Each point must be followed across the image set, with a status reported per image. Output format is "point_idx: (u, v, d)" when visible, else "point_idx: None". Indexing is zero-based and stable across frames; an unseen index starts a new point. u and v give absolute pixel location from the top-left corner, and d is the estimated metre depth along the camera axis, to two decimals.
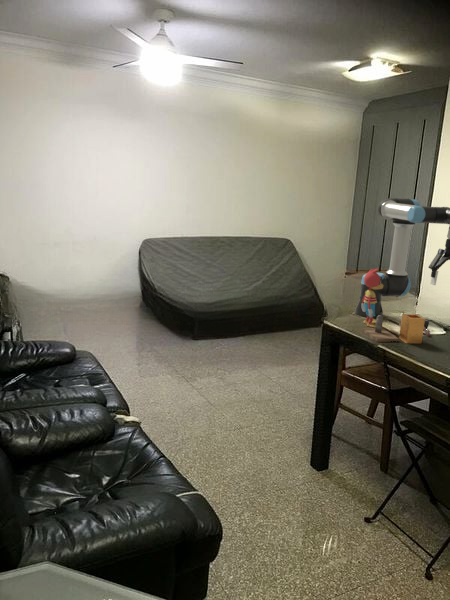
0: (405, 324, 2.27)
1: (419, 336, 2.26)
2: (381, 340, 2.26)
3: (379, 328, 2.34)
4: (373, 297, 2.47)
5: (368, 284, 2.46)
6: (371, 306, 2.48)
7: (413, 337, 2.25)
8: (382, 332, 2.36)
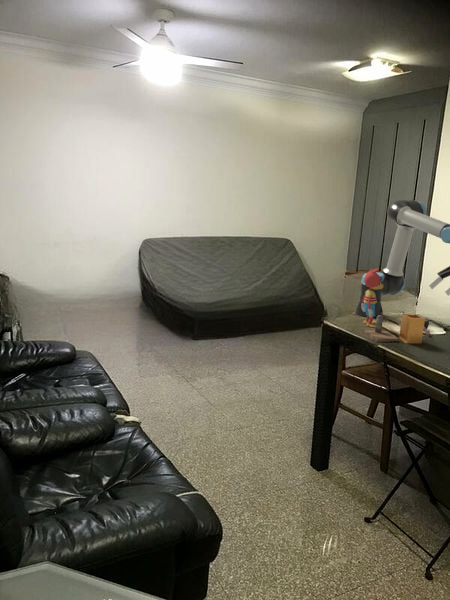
0: (405, 324, 2.27)
1: (419, 336, 2.26)
2: (381, 340, 2.26)
3: (379, 328, 2.34)
4: (373, 297, 2.47)
5: (368, 284, 2.46)
6: (371, 306, 2.48)
7: (413, 337, 2.25)
8: (382, 332, 2.36)
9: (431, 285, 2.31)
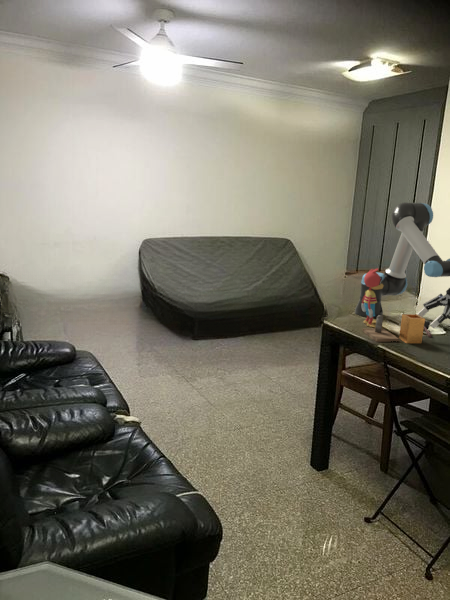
0: (405, 324, 2.27)
1: (419, 336, 2.26)
2: (381, 340, 2.26)
3: (379, 328, 2.34)
4: (373, 297, 2.47)
5: (368, 284, 2.46)
6: (371, 306, 2.48)
7: (413, 337, 2.25)
8: (382, 332, 2.36)
9: None
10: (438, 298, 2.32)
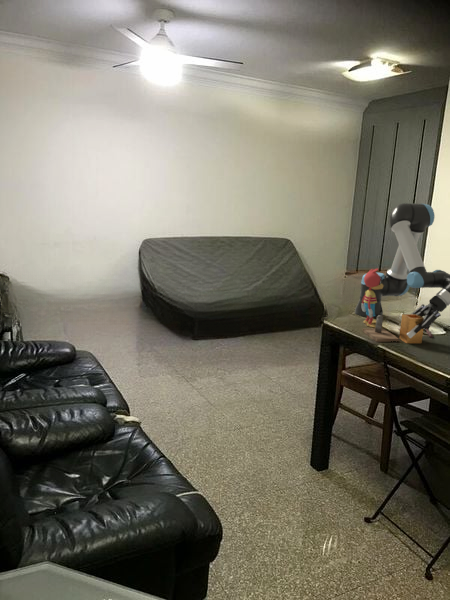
0: (405, 324, 2.27)
1: (419, 336, 2.26)
2: (381, 340, 2.26)
3: (379, 328, 2.34)
4: (373, 297, 2.47)
5: (368, 284, 2.46)
6: (371, 306, 2.48)
7: (413, 337, 2.25)
8: (382, 332, 2.36)
9: None
10: (421, 309, 2.32)
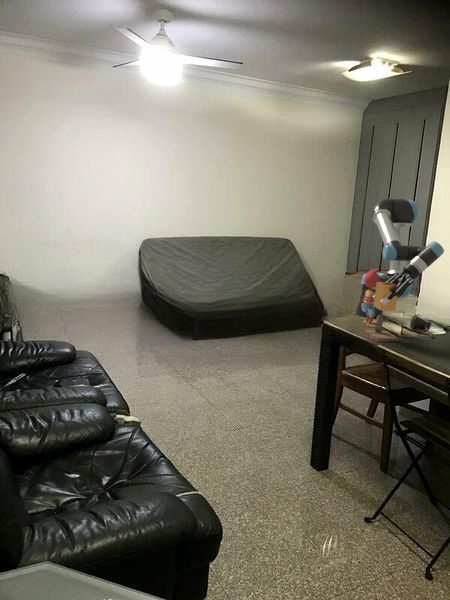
0: (379, 291, 2.30)
1: (393, 303, 2.29)
2: (381, 340, 2.26)
3: (379, 328, 2.34)
4: None
5: (368, 284, 2.46)
6: (371, 306, 2.48)
7: (387, 304, 2.28)
8: (382, 332, 2.36)
9: None
10: (395, 277, 2.35)
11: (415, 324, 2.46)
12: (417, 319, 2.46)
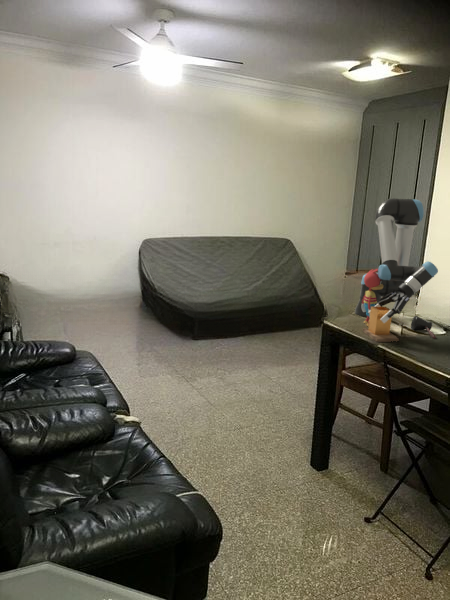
0: (373, 316, 2.33)
1: (387, 328, 2.32)
2: (381, 340, 2.26)
3: None
4: (373, 297, 2.47)
5: (368, 284, 2.46)
6: None
7: (381, 329, 2.31)
8: None
9: None
10: (391, 295, 2.39)
11: (416, 324, 2.45)
12: (418, 319, 2.45)
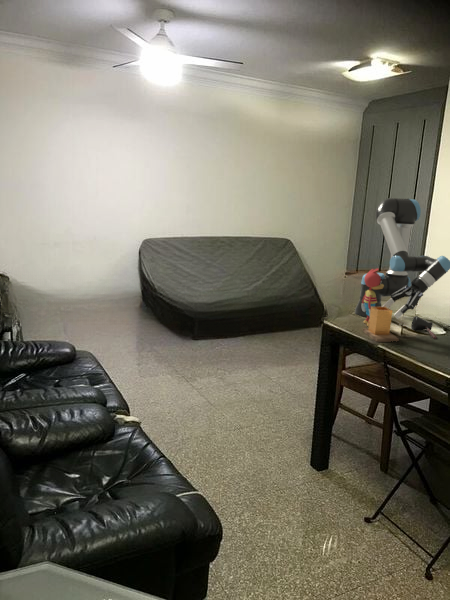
0: (373, 316, 2.33)
1: (387, 328, 2.32)
2: (381, 340, 2.26)
3: None
4: (373, 297, 2.47)
5: (368, 284, 2.46)
6: None
7: (381, 329, 2.31)
8: None
9: None
10: (404, 289, 2.38)
11: (417, 325, 2.45)
12: (418, 320, 2.45)
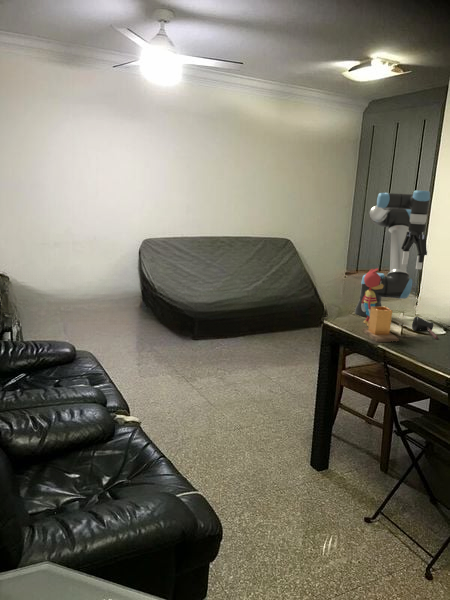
0: (373, 316, 2.33)
1: (387, 328, 2.32)
2: (381, 340, 2.26)
3: None
4: (373, 297, 2.47)
5: (368, 284, 2.46)
6: None
7: (381, 329, 2.31)
8: None
9: (404, 262, 2.45)
10: (408, 237, 2.41)
11: (418, 325, 2.44)
12: (419, 320, 2.44)
